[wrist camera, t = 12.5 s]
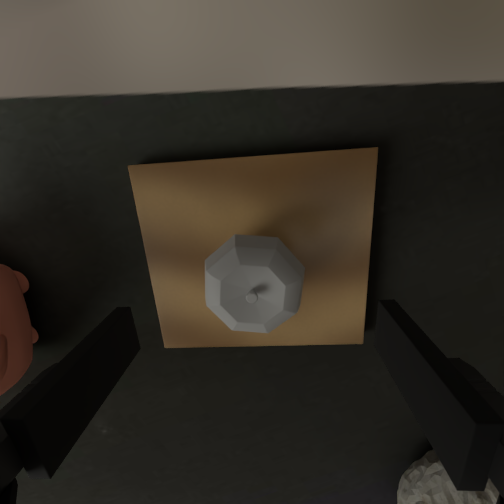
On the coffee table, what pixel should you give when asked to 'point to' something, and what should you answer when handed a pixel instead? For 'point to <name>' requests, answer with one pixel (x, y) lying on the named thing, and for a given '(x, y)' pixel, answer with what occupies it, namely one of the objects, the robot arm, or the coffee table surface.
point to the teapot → (14, 328)
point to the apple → (253, 283)
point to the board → (260, 224)
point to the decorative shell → (438, 485)
